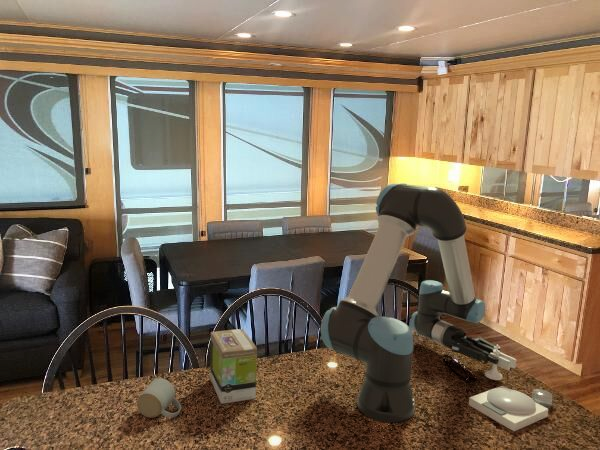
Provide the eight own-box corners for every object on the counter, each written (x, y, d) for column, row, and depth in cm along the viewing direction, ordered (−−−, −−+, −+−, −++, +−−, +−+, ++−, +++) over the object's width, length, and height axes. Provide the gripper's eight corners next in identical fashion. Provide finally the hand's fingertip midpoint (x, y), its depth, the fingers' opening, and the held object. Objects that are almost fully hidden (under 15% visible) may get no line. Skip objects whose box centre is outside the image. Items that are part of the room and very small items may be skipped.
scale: (513, 431, 124) (515, 420, 124) (468, 404, 136) (469, 394, 136) (547, 416, 132) (548, 406, 131) (501, 392, 143) (502, 382, 143)
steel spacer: (544, 410, 135) (545, 399, 135) (527, 401, 139) (528, 391, 139) (554, 405, 138) (556, 395, 137) (538, 397, 142) (539, 387, 141)
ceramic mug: (134, 417, 124) (134, 390, 123) (150, 401, 132) (149, 375, 131) (173, 424, 123) (173, 396, 121) (186, 407, 130) (186, 381, 129)
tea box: (257, 399, 135) (258, 347, 133) (220, 405, 132) (220, 352, 129) (242, 373, 149) (243, 327, 146) (209, 378, 145) (209, 330, 143)
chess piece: (504, 380, 148) (508, 348, 146) (488, 379, 148) (491, 347, 146) (498, 372, 153) (502, 341, 151) (482, 371, 153) (486, 341, 151)
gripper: (463, 342, 169) (526, 371, 149) (431, 350, 161) (493, 382, 141) (466, 321, 167) (529, 347, 148) (434, 328, 160) (496, 357, 140)
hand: (512, 364), depth 145 cm, fingers closed on chess piece, 2 cm apart
